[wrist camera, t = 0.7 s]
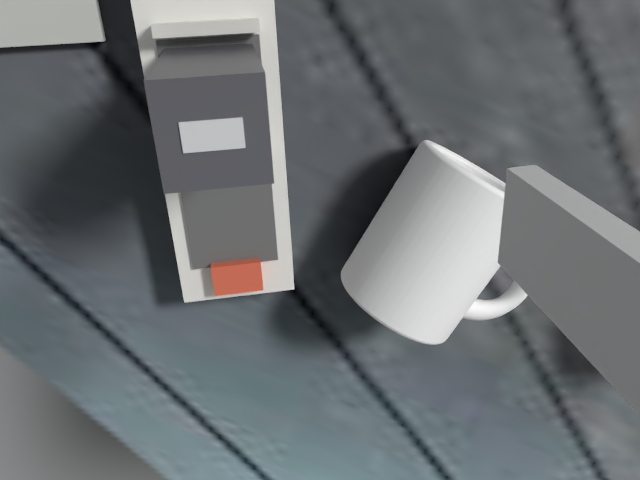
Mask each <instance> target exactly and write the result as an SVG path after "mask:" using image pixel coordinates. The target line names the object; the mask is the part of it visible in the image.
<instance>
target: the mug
mask: <svg viewBox="0 0 640 480" xmlns="http://www.w3.org/2000/svg"><path fill="white" fill-rule="evenodd" d="M505 185H506V184H505V183H504V182H502V181H501V180H499V179H498V178H496V177H494V176H493V175H491V174H490V173H488V172H486V171H485V170H483V169H481V168H480V167H478V166H476V165H475V164H473V163H471V162H470V161H468V160H466V159H464V158H463V157H461V156H459V155H457V154H456V153H454V152H452V151H450V150H448V149H446V148H444V147H442V146H440V145H438V144H436V143H434V142H432V141H429V140H423V141H421V142H420V144H419V146H418V147H417V149H416V150H415V152H414V154H413V155H412V157H411V159H410V160H409V162H408V163H407V165H406V167H405V168H404V170H403V171H402V173H401V175H400V176H399V178H398V180H397V181H396V183H395V184H394V186H393V188H392V189H391V191H390V192H389V194H388V196H387V197H386V199H385V201H384V202H383V204H382V205H381V207H380V209H379V210H378V212H377V213H376V215H375V217H374V218H373V220H372V222H371V223H370V225H369V226H368V228H367V230H366V231H365V233H364V234H363V236H362V238H361V239H360V241H359V243H358V244H357V246H356V247H355V249H354V251H353V252H352V254H351V255H350V257H349V259H348V260H347V262H346V264H345V265H344V267H343V268H342V270H341V280H342V283H343V285H344V287H345V289H346V291H347V292H348V294H349V295H350V296H351V297H352V299H353V300H354V301H355V302H356V303H357V304H358V305H359V306H360V307H361V308H362V309H363V310H364V311H366V312H367V313H368V314H369V315H370V316H372V317H373V318H374V319H376V320H377V321H378V322H380V323H381V324H383V325H384V326H386V327H387V328H389V329H391V330H392V331H394V332H396V333H398V334H400V335H402V336H404V337H406V338H409V339H411V340H414V341H416V342H420V343H424V344H430V345H436V344H441V343H443V342H445V341H446V340H447V338H448V337H449V336H450V334H451V333H452V331H453V330H454V329H455V327H456V326H457V325H458V323H459V322H460V320H461V319H462V318H464V319H470V320H487V319H492V318H496V317H499V316H501V315H503V314H506V313H507V312H509V311H511V310H512V309H514V308H515V307H516V306H518V305H519V304H520V303H521V302H522V301H523V300H524V299H525V298H526V297H527V296H528V295H527V294H526V293H525V292H524V290H523V289H522V288H521V287H520V286H519V285H518V284H517V283H516V282H515V281H513V283H512V284H511V286H510V287H509V288H508V289H507V290H506V292H505V293H503V294H502V295H501V296H500V297H498V298H496V299H493V300H479V299H477V297H478V296H479V294H480V293H481V292H482V290H483V289H484V288H485V286H486V285H487V284H488V282H489V281H490V279H491V278H492V277H493V275H494V274H495V273H496V271H497V270H498V268H499V267H500V265H499V264H498V254H499V244H500V234H501V224H502V214H503V204H504V194H505Z"/></svg>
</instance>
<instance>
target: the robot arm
mask: <svg viewBox="0 0 640 480" xmlns="http://www.w3.org/2000/svg"><path fill="white" fill-rule="evenodd" d="M498 264H499V265H500V266H501V267H502V268H503V269H504V270H505V271H506V272H507V273H508V274H509V275H510V276H511V278H512V279H513V280H514V281H515V282H516V283H517V284H518V285H519V286H520V287H521V288H522V289H523V290H524V292H525V293H526V294H527V295H528V296H529V297H530V298H531V299H532V300H533V301H534V302H535V303H536V305H537V306H538V307H539V308H540V309H541V310H542V311H543V312H544V313H545V314H546V315H547V316H548V317H549V319H550V320H551V321H552V322H553V323H554V324H555V325H556V326H557V327H558V328H559V329H560V330H561V331H562V333H563V334H564V335H565V336H566V337H567V338H568V339H569V340H570V341H571V342H572V343H573V344H574V346H575V347H576V348H577V349H578V350H579V351H580V352H581V353H582V354H583V355H584V356H585V357H586V358H587V360H588V361H589V362H590V363H591V364H592V365H593V366H594V367H595V368H596V369H597V370H598V371H599V372H600V374H601V375H602V376H603V377H604V378H605V379H606V380H607V381H608V382H609V383H610V384H611V385H612V387H613V388H614V389H615V390H616V391H617V392H618V393H619V394H620V395H621V396H622V397H623V398H624V399H625V401H626V402H627V403H628V404H629V405H630V406H631V407H632V408H633V409H634V410H635V411H636V412H637V413H638V415H639V416H640V232H639V231H638V230H636V229H635V228H633V227H632V226H630V225H628V224H627V223H625V222H624V221H622V220H621V219H619V218H618V217H616V216H614V215H613V214H611V213H610V212H608V211H607V210H605V209H603V208H602V207H600V206H599V205H597V204H596V203H594V202H593V201H591V200H589V199H588V198H586V197H585V196H583V195H582V194H580V193H579V192H577V191H575V190H574V189H572V188H571V187H569V186H568V185H566V184H564V183H563V182H561V181H560V180H558V179H557V178H555V177H554V176H552V175H550V174H549V173H547V172H546V171H544V170H543V169H541V168H540V167H538V166H536V165H531V166H522V167H514V168H507V175H506V185H505V194H504V204H503V214H502V224H501V234H500V244H499V254H498Z"/></svg>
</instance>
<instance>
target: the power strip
mask: <svg viewBox="0 0 640 480" xmlns="http://www.w3.org/2000/svg"><path fill="white" fill-rule="evenodd" d="M130 1H131V7H132V12H133V18H134V23H135V29H136V35H137V40H138V46H139V52H140V57H141V63H142V68H143V74H144V79H145V77H146V76H147V75H148V73H149V72H150V70H151V69H152V67H153V66H154V64H155V63H156V61H157V60H158V58H159V57H160V55H161V54H162V52H163V51H164V49H166V48H182V47H198V46H214V45H231V44H247V43H252V44H253V46H254V48H255V51H256V53H257V55H258V57H259V60H260V62H261V64H262V66H263V68H264V71H265V77H266V89H267V101H268V113H269V126H270V138H271V150H272V162H273V174H274V184H263V185H253V186H242V187H232V188H221V189H211V190H200V191H190V192H179V193H168V194H165V198H166V203H167V209H168V214H169V220H170V226H171V231H172V237H173V242H174V248H175V254H176V259H177V265H178V271H179V276H180V282H181V287H182V293H183V299H184V303H185V302H194V301H202V300H210V299H219V298H227V297H235V296H244V295H252V294H260V293H269V292H277V291H285V290H294V276H293V262H292V247H291V233H290V219H289V205H288V191H287V177H286V163H285V148H284V134H283V120H282V106H281V92H280V78H279V64H278V49H277V35H276V21H275V7H274V0H130Z"/></svg>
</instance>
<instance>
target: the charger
mask: <svg viewBox="0 0 640 480" xmlns="http://www.w3.org/2000/svg"><path fill="white" fill-rule="evenodd" d="M143 81H144V86H145V92H146V98H147V103H148V109H149V114H150V120H151V125H152V131H153V137H154V142H155V148H156V153H157V159H158V165H159V170H160V176H161V181H162V187H163V193H164V194H168V193H179V192H190V191H200V190H211V189H221V188H232V187H242V186H253V185H263V184H274V174H273V162H272V150H271V138H270V126H269V113H268V101H267V89H266V77H265V71H264V68H263V66H262V64H261V62H260V60H259V57H258V55H257V53H256V51H255V48H254V46H253V44H252V43H247V44H231V45H214V46H198V47H182V48H166V49H164V51H163V52H162V54H161V55H160V57H159V58H158V60H157V61H156V63H155V64H154V66H153V67H152V69H151V70H150V72H149V73H148V75H147V76H146V77H145V79H144V80H143Z"/></svg>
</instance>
